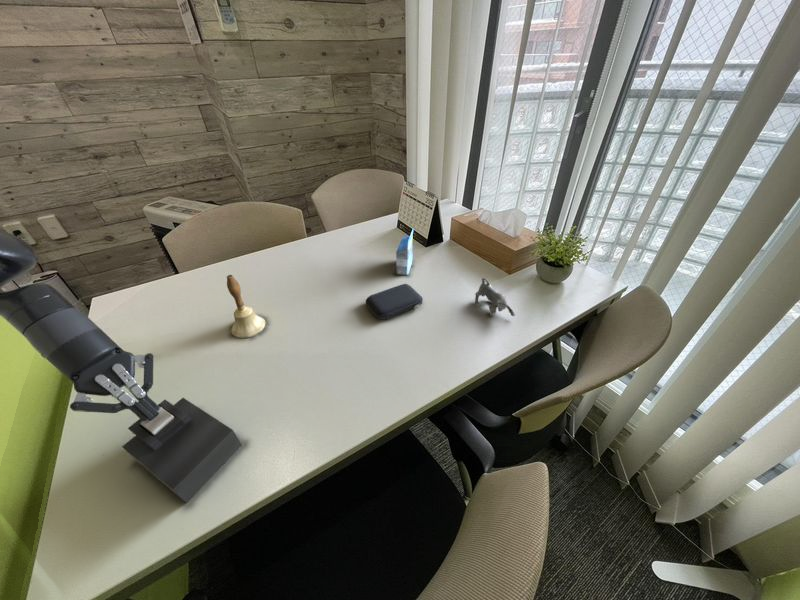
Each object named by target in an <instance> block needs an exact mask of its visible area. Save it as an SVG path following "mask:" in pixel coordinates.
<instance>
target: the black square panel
mask: <svg viewBox="0 0 800 600" xmlns="http://www.w3.org/2000/svg"><path fill="white" fill-rule="evenodd" d="M157 405H158V406H159V408H160V407H161V408H163V409H164V410H166V411H167V412H168V413H170V414H171V415H173V417H174V418H175V419H173V420H172V421H171V422H170V423H169V424H167V425H166V426H165V427H164V428H163V429H162V430H160V431H159V432H158V433H157V434H156V435H152V434H151V433H150V432H148V431H147V430H146V429H145V428H144V427H143V426H142V425H141V424H140V423H141V422H142V421H143V420H141V419H140V418H139V419H137V421H135V422H134V423H132V424H131V425H130V426H129V427H128V428H127V429H128V430H129V431H130V432H131V434H133V435H134V436H132V438H131V439H130V440H128V441H127V442H126V443H124V444H123V445H122V446H121V448H122V449H123V450H124V451H125V452H126V453H127V454H129V456H130V457H132V458H133V459H134V460H135V461H136V462H137V463H138V464H140V465H141V466H142V467H143V468H145V469H146V470H147V472H149V473H150V474H151V475H153V476H154V477H155V478H156V479H158V480H159V481H160V482H161V483H162V484H163V485H165V486H166V487H167V488H168V489H169V490H171V491H172V492H173V493H174V494H175V495H176V496H178V497H179V498H180V499H181V500H182V501H184V502H185V503H186V504H187V503H189V502H190V501H191V500H192V498H193V497H195V496H196V494H197V493H198V492H200V490H201V489H202V488H203V487H204V486H205V485H206V484H207V483H208V482H209V481H210V480H211V479H212V478H213V476H214V475H216V473H217V472H218V471H219V470H220V469H221V468H222V467H223V466H224V465H225V464H226V463H227V461H229V459H230V458H231V457H233V455H234V454H235V453H236V452H237V451H238V450H239V449H240V448H241V447H242V446H243V444H242V443H241V441H240V439H239V437H238V436H237V434H236V433H235V431H234V430H233V429H232V428H231V427H229V426H228V425H226V424H224V423H223V422H221V421H220V420H218V419H217V418H215V417H213V416H212V415H210V414H209V413H208V412H207V411H205V410H204V409H201V408H200V407H198V406H197V405H196V404H194V403H192V402H191V401H189V400H188V399H186V398H185V397H182V398H180V399H179V400H178V401H177V402H175V403H174V404H173V403H171V402H170V401H168V400H167V399H163V400H162V401H160V402H159V403H158V404H157Z"/></svg>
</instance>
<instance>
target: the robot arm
mask: <svg viewBox="0 0 800 600" xmlns="http://www.w3.org/2000/svg"><path fill="white" fill-rule="evenodd" d="M38 262H39V256H38V253H37V251H36V249H35V248H34V247H33V246H32V245H31V244H30V243H28V242H27V241H25V240H24V239H22V238H20V237H18V236H17V235H15V234H12V233H11V232H7V231H4V230H1V229H0V317H1V318H3V319H4V320H5V321H6V322H7V323H9V325H11V326H12V327H13V328H14V329H15V330H16V331H18V332H19V333H20V334H21V335H22V336H23V337H24V338H25V339H26V340H27V342H29V344H30V345H31V347H32V348H33V349H34V350H35V351H36V352H38V353H39V354H40V356H41V357H42V358H44V359H46V360H47V361H48V362H49V363H50V364H51V365H52V366H53V367H54V368H56V369H57V370H58V371H59V372H60V373H61V374H62V375H63V376H65V377H66V378H67V379H68V380H69V381H70V382H71V383H72V384H73V389H74V391H75V392H76V395H75V397H74V400H73V402H71V403H70V405H69V408H70V410H72V412H80V413H81V412H82V413H100V414H101V413H102V414H117V413H119V412H122V411H124V410H130V411H131V412H132V414H134V415H135V416H136V417H137V418H139V419H141V420H143V421H146V420H147V419H148V420H150V421H151V420H153V419H154V418H155V417H156V416H158V415H159V413H158V412H157V411H158V410H159V409H160V408H159V406H158V404H157V403H156V402H155V401H154V400H153V399H152V398H151V397H149V395H148V393H149V391H150V390H151V389H152V387H153V385H154V354H153V353H148V352H147V353H146V354H144V355H143V354H142V355H134V354H133V353H132V352H130V351H126V350H124V349H123V348H122V347H120V346H119V345H118V344H117V343H116V342H115V341H114V340H113V339H112V338H111V337H110V336H109V335H108V334H107V333H106V332H104V331H103V329H101V328H100V327H99V326H98V325H97V324H96V323H95V321H93V320H92V319H91V318H90V317H89V316H87V315H86V314H84V313H83V312H81V310H79V309H78V308H77V307H75V305H73V304H72V303H71V302H70V301H69V300H68V299H67V298H66V297H65V296H64V295H63V294H62V293H61V292H60V291H58V289H56V287H53V286H52V285H51V284H48V283H43V282H37V283H30V284H27V285H24V286H23V285H22V286H21V287H18V288H15V289H12V290H8V291H4V290H3V289H2V287H3V286H5V285H7V284H9V283H11V282H13V281H14V280H16V279H18V278H20V277H22V276H23V275H25V274H26V273H29V272H30V271H32V270H33V269H34V268H35V267H36V266H37V265H38ZM135 364H137V365H138V367H139V368H141V369H143V385H142V386H140V385H139V383H138V382H137V381H136V380H135V374H136V372H135V371H136V365H135ZM123 387H125V389H127V391H128V392H130V393H131V395H132V396H133V397H134V398H135V399H136V400H135V399H134V398H133V397H132V396H130V395H129V394H128V393H127V392H126V391H125V390H124V389H122V388H123ZM87 395H90V396H100V397H109V396H111V397H112V398H114V399H115V400H116V401H118V403H109V402H93V399H92V397H89V396H87Z"/></svg>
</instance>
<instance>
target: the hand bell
mask: <svg viewBox="0 0 800 600" xmlns="http://www.w3.org/2000/svg"><path fill="white" fill-rule="evenodd" d="M226 287H227V290H228V292H229V294H230V295H231V297H232V298H233V299H234V301H235V305H236V309H234V311H233V318H234V323H233V324H232V326H231V334H232V335H233V336H234V337H236V338H238V339H239V338H240V339H245V338H246V339H247V338H251V337H254V336H256V335H258V334H259V333H261V332H262V331H263V330H264V328H265V326H266V320H265V319H264V318H263V317H262V316H259V315H257V314H256V313H255V312H254V310H253V308H252V307H251V306H248V305H245V303H244V300H243V298H242V290H241V286H240V283H239V282H238V280H237V279H236V278H235V277H234V275H233V274H228V275H227V276H226Z"/></svg>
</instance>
